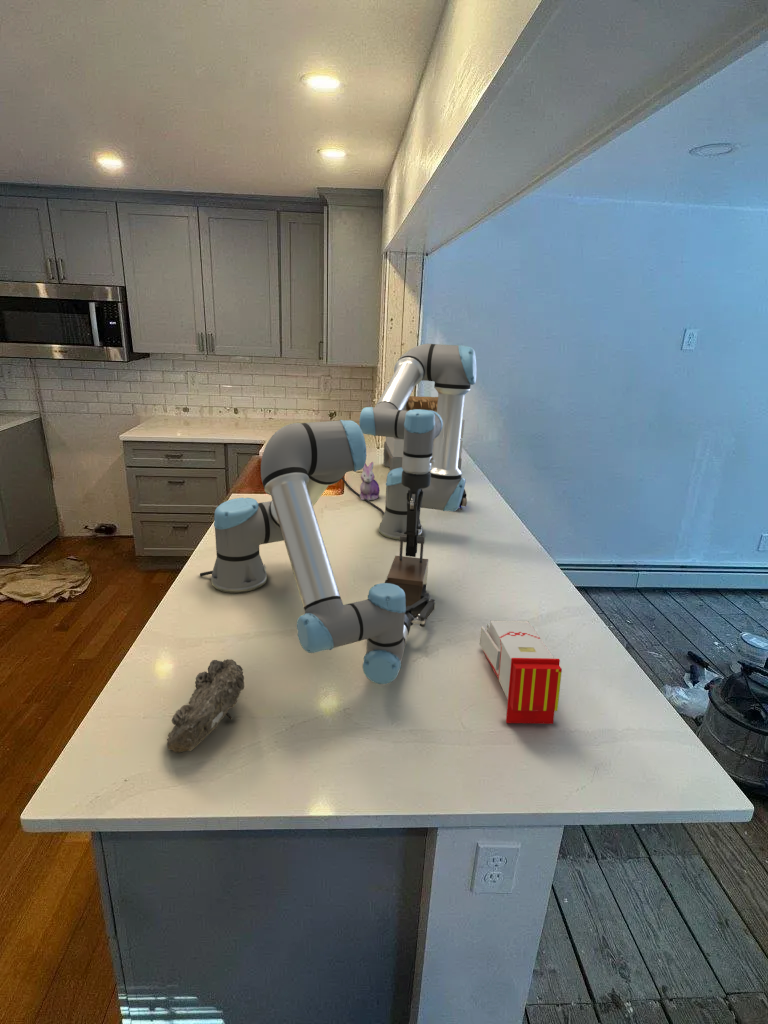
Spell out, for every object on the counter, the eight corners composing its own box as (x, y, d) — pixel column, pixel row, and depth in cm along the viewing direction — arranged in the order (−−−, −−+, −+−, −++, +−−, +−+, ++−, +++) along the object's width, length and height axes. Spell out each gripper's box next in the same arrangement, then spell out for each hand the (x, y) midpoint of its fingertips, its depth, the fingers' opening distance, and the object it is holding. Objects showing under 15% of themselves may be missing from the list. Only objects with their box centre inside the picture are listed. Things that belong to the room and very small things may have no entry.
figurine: (364, 502, 230) (365, 466, 225) (353, 495, 238) (354, 460, 233) (384, 500, 234) (386, 464, 229) (373, 492, 242) (375, 458, 237)
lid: (395, 559, 159) (396, 530, 156) (428, 563, 157) (430, 534, 154) (386, 581, 145) (388, 550, 142) (422, 586, 144) (425, 554, 141)
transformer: (382, 463, 289) (386, 382, 275) (445, 464, 293) (451, 384, 279) (390, 482, 257) (394, 392, 243) (460, 483, 261) (468, 394, 247)
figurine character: (467, 515, 225) (461, 499, 238) (469, 498, 221) (463, 482, 235) (450, 514, 224) (445, 498, 238) (452, 497, 221) (447, 482, 234)
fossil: (192, 660, 117) (244, 628, 112) (224, 691, 120) (276, 661, 115) (142, 746, 98) (202, 712, 93) (182, 779, 101) (242, 748, 96)
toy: (526, 605, 135) (570, 665, 105) (521, 658, 137) (563, 730, 108) (475, 604, 134) (506, 664, 105) (472, 657, 137) (500, 729, 108)
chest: (393, 588, 161) (394, 560, 158) (425, 591, 160) (428, 564, 157) (385, 611, 148) (386, 582, 145) (420, 616, 147) (422, 586, 144)
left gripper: (344, 639, 130) (364, 594, 151) (439, 652, 127) (446, 604, 148) (344, 610, 128) (365, 569, 149) (442, 623, 125) (448, 578, 145)
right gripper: (428, 480, 139) (421, 567, 147) (433, 464, 153) (427, 545, 161) (397, 477, 140) (393, 563, 148) (406, 462, 154) (401, 542, 162)
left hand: (405, 586), depth 148 cm, fingers closed on chest, 9 cm apart
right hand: (411, 553), depth 154 cm, fingers closed on lid, 2 cm apart
